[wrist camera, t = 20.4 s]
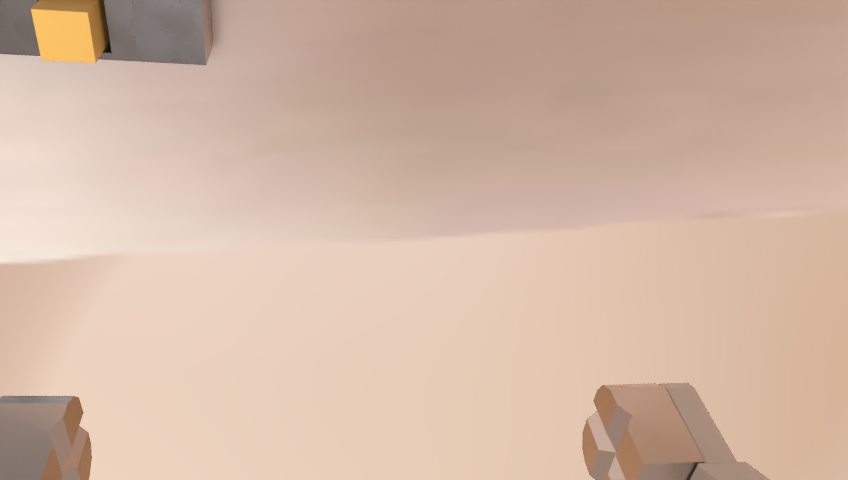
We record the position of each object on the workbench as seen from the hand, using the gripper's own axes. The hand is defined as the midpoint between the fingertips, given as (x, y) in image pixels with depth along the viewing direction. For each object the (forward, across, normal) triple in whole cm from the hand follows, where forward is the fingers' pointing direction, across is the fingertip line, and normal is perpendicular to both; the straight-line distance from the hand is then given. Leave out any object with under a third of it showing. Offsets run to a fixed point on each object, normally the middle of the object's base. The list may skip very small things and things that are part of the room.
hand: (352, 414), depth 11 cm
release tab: (+30, +12, +4) cm, 33 cm away
